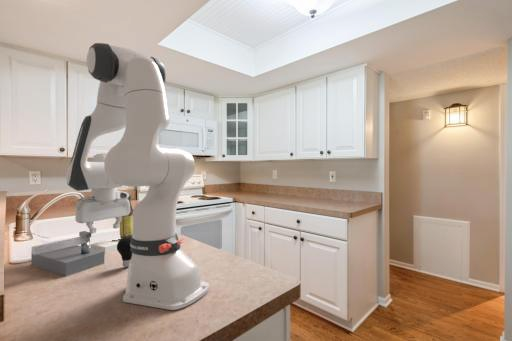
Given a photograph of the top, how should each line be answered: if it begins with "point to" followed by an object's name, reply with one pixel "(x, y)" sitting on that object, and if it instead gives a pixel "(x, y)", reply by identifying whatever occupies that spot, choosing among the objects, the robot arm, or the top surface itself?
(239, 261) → the top surface
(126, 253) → the light bulb
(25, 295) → the top surface
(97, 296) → the top surface
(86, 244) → the t key
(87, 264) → the housing
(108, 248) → the cover
